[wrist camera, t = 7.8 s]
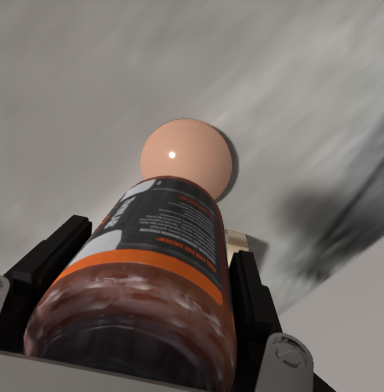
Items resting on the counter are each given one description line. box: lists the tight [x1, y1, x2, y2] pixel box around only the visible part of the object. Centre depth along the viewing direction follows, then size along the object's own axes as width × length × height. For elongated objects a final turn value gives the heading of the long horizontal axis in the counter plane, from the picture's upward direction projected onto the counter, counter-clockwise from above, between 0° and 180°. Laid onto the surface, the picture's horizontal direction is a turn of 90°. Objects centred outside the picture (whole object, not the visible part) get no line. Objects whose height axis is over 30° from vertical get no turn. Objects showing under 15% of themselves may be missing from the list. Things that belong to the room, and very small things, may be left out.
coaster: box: [141, 119, 232, 200], centre depth 28 cm, size 9×9×1 cm
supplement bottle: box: [23, 175, 237, 392], centre depth 10 cm, size 6×6×11 cm
